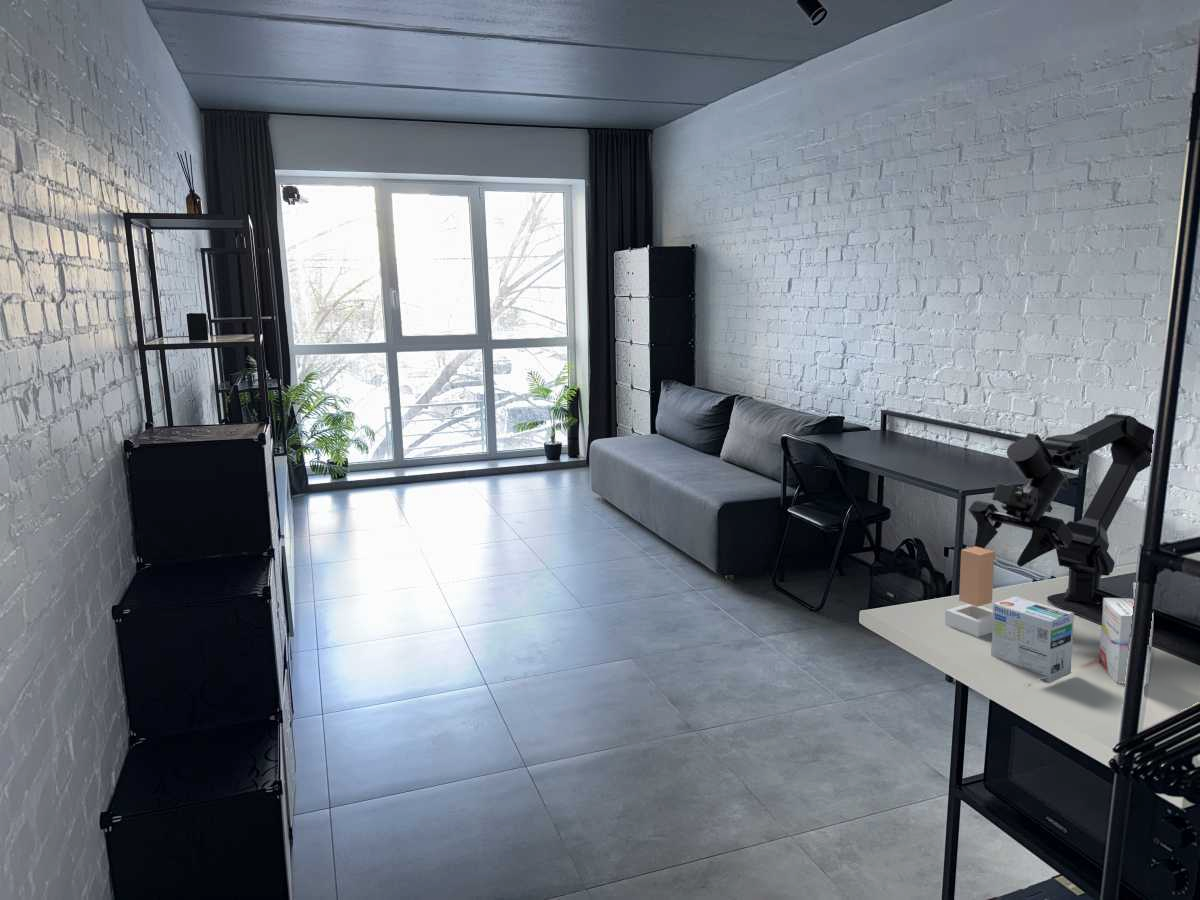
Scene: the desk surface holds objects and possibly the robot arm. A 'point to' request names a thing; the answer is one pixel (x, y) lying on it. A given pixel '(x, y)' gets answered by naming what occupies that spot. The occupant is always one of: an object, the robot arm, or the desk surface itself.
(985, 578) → the plug
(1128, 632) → the ink cartridge box
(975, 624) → the white square socket
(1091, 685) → the desk surface
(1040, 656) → the light bulb box
